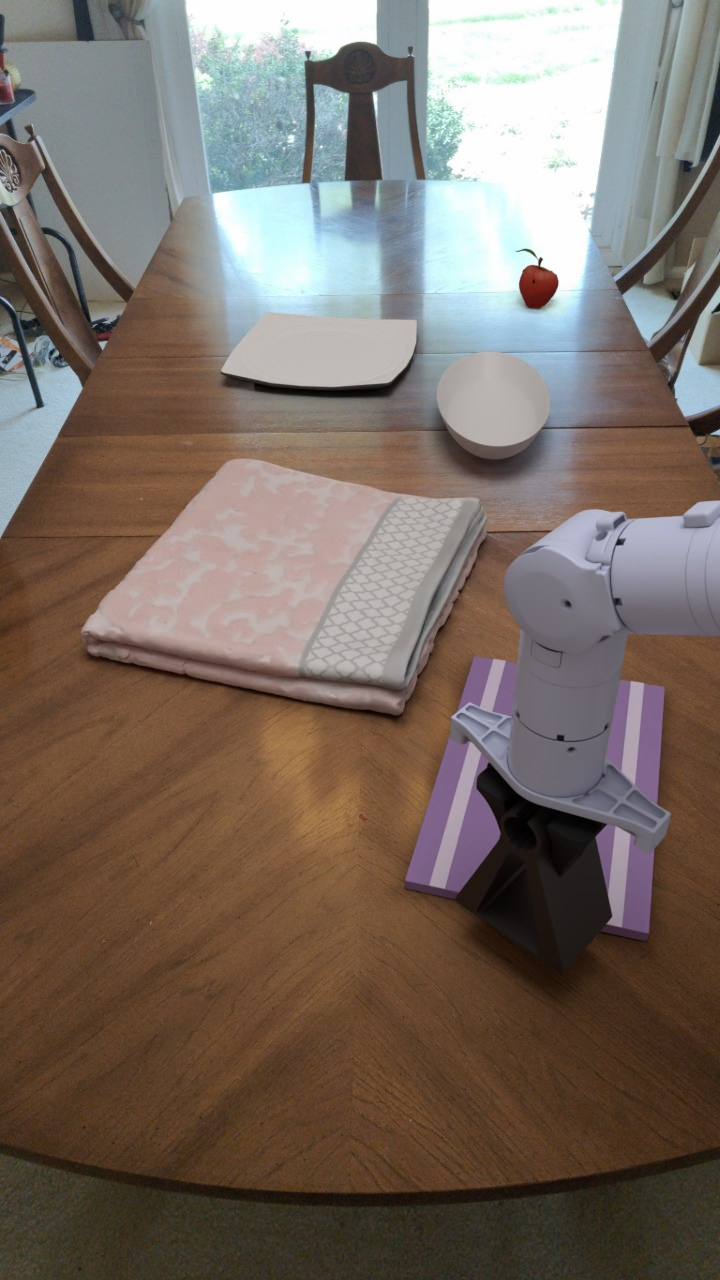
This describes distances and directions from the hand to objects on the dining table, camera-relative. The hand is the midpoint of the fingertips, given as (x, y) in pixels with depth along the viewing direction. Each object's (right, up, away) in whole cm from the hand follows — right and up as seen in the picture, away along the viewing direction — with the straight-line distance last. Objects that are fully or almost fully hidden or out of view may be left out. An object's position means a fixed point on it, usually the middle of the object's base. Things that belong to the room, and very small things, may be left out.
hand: (540, 861), depth 65 cm
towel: (-18, +20, +42) cm, 50 cm away
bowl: (+6, +43, +70) cm, 82 cm away
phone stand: (0, -4, +3) cm, 5 cm away
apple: (+19, +74, +110) cm, 134 cm away
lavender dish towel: (+4, +3, +19) cm, 19 cm away
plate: (-18, +59, +92) cm, 111 cm away
